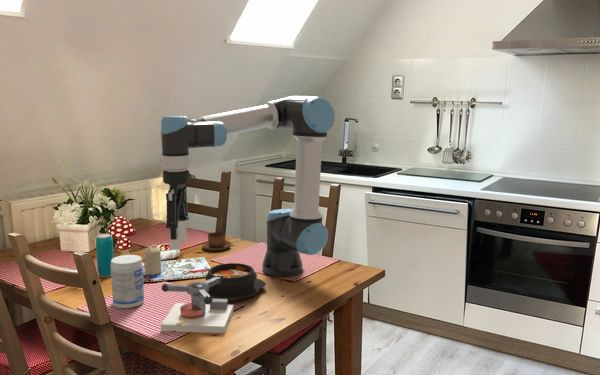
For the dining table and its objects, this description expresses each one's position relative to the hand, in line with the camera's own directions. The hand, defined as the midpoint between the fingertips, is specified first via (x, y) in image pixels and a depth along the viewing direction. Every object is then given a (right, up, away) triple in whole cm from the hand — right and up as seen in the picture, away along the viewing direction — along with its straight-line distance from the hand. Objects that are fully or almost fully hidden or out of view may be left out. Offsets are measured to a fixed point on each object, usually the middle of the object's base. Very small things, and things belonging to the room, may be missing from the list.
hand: (178, 245), depth 160 cm
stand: (+7, -22, -2) cm, 23 cm away
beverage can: (-34, -15, +34) cm, 50 cm away
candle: (-18, -14, +37) cm, 44 cm away
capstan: (+4, -20, -3) cm, 20 cm away
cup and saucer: (+1, -9, +68) cm, 68 cm away
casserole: (+14, -18, +18) cm, 29 cm away
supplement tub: (-18, -20, +10) cm, 28 cm away
